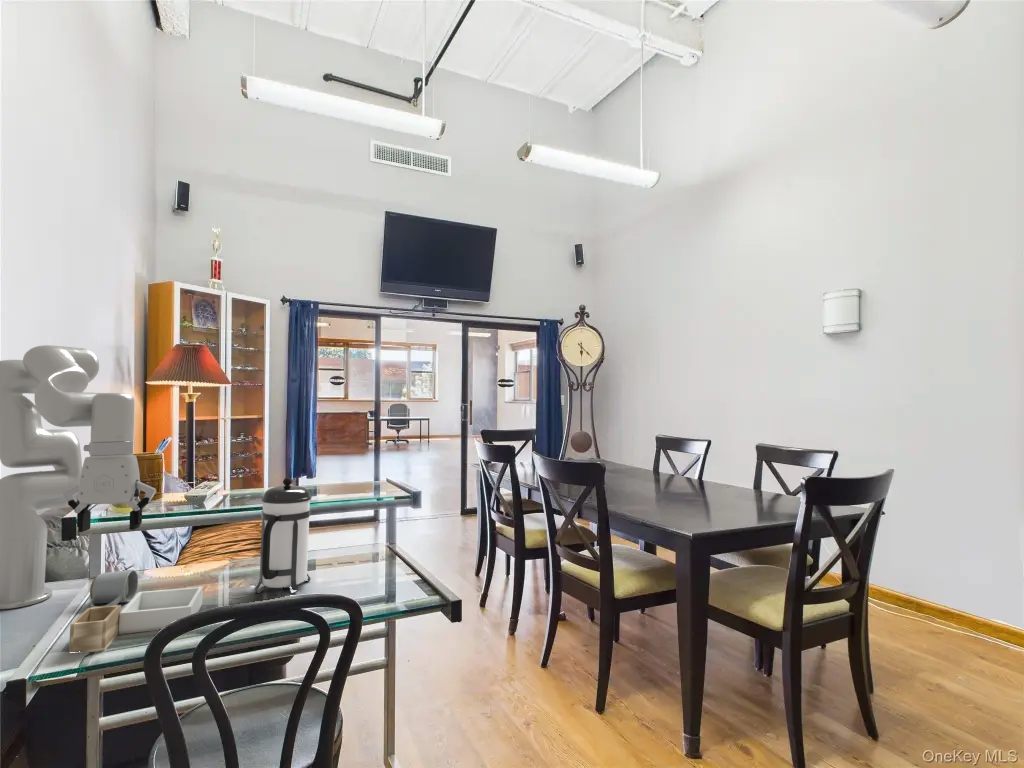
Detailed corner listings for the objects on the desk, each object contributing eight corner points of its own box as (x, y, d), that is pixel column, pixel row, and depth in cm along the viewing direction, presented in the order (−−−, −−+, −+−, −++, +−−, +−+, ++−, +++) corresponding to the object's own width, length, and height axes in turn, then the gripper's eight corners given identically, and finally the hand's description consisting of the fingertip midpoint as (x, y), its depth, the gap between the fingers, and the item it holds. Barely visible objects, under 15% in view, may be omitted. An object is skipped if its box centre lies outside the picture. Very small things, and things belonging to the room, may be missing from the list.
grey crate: (118, 634, 117) (119, 613, 118) (138, 610, 130) (138, 591, 130) (190, 626, 122) (191, 606, 122) (202, 605, 135) (202, 586, 135)
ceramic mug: (101, 597, 138) (103, 567, 138) (138, 595, 140) (139, 565, 140) (79, 614, 128) (81, 581, 128) (119, 611, 130) (120, 579, 130)
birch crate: (68, 654, 108) (70, 624, 108) (86, 636, 116) (88, 607, 117) (104, 650, 110) (106, 621, 110) (119, 632, 119) (121, 605, 119)
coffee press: (242, 585, 149) (246, 476, 150) (300, 574, 160) (304, 472, 161) (261, 604, 136) (266, 484, 137) (323, 591, 146) (328, 480, 147)
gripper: (55, 452, 112) (52, 535, 111) (148, 450, 115) (146, 531, 115) (77, 449, 119) (74, 528, 118) (163, 448, 123) (161, 524, 122)
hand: (109, 529), depth 117 cm, fingers open, 9 cm apart
